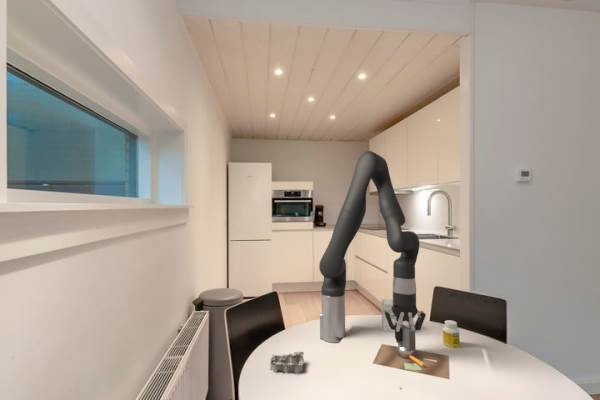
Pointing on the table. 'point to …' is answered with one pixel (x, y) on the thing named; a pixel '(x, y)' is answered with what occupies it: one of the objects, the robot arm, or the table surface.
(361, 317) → the table surface
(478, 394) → the table surface
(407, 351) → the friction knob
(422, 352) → the brown flat board
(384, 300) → the supplement box
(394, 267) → the robot arm
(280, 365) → the egg carton
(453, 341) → the supplement bottle
